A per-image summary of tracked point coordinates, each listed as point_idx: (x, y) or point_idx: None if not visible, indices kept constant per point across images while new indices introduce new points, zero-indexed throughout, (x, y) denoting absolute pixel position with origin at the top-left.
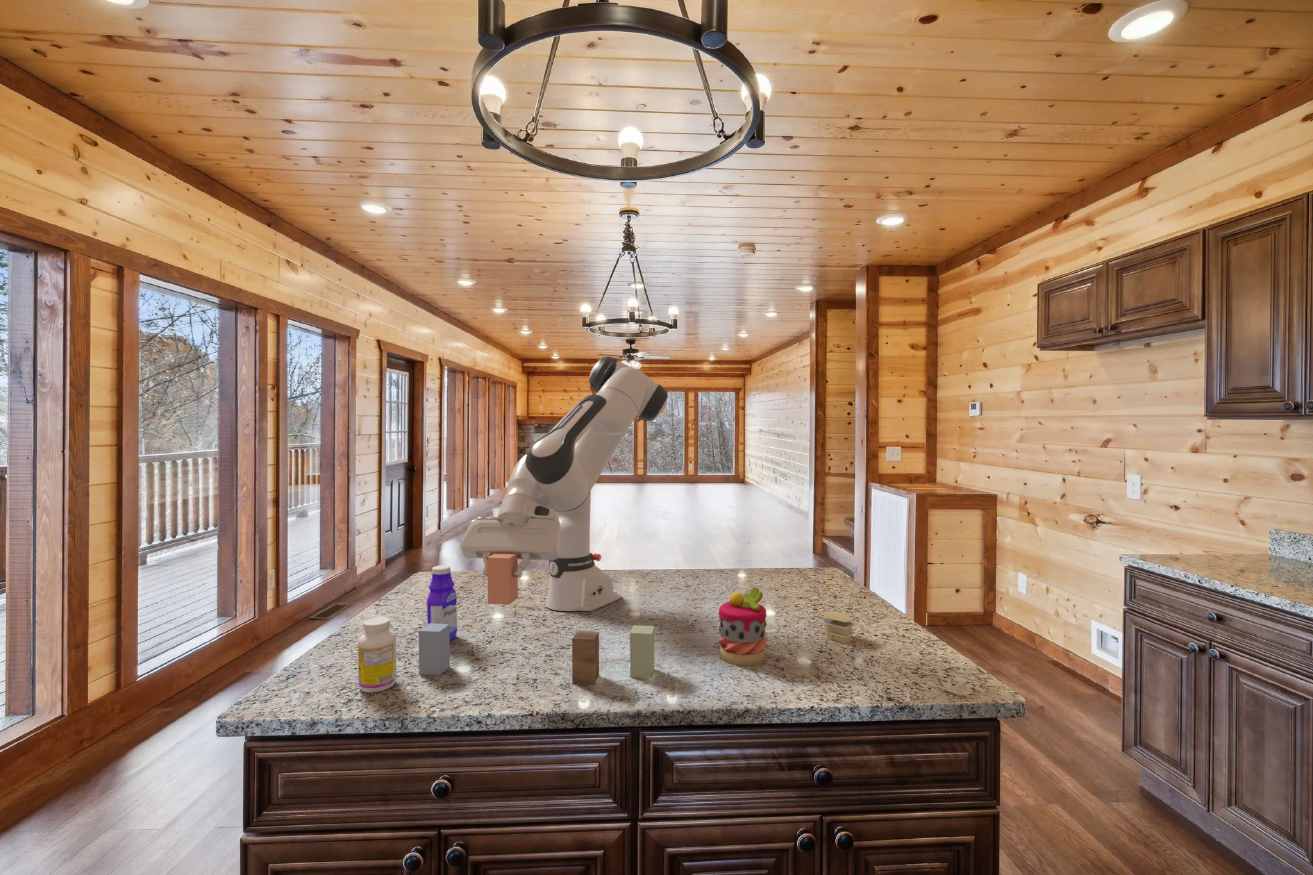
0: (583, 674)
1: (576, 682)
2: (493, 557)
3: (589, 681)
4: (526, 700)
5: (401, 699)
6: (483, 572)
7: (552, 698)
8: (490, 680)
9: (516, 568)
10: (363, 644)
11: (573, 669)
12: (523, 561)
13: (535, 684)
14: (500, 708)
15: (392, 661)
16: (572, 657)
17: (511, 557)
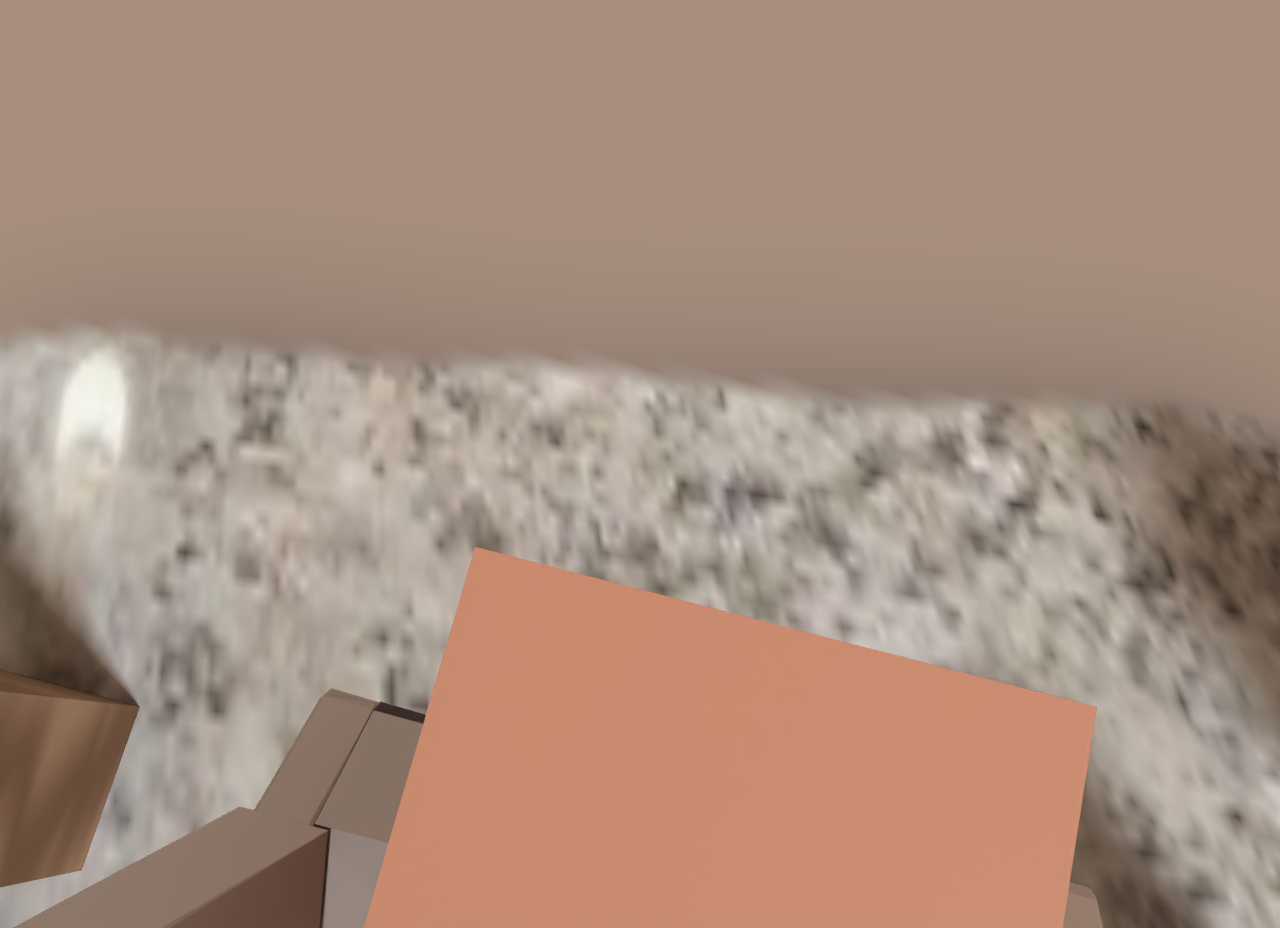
0: (27, 681)
1: (106, 698)
2: (932, 702)
3: (9, 673)
4: (451, 501)
5: (1252, 622)
6: (1078, 887)
7: (286, 506)
8: None
9: (363, 771)
10: None
11: (86, 699)
12: (154, 879)
13: None
14: (603, 420)
15: None
16: (50, 697)
17: (431, 710)
